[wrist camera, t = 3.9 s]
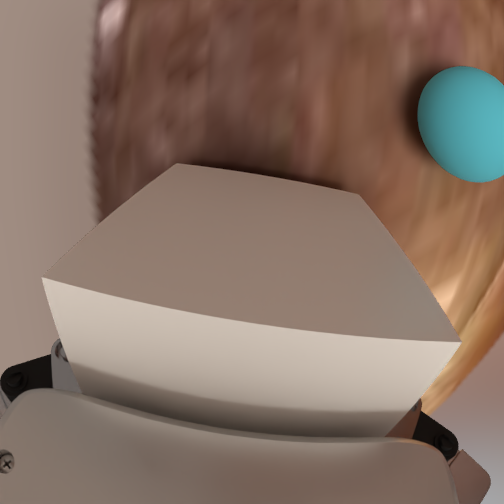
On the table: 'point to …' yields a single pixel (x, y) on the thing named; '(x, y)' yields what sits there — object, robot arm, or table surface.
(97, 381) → the white block
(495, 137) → the plastic egg
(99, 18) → the table surface
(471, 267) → the table surface
